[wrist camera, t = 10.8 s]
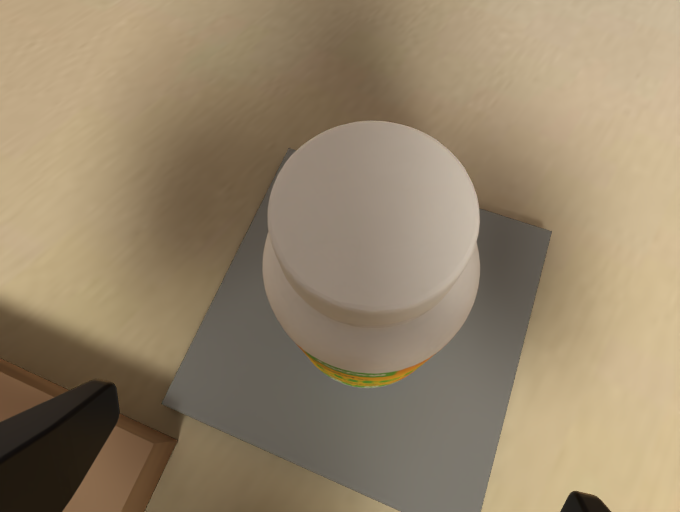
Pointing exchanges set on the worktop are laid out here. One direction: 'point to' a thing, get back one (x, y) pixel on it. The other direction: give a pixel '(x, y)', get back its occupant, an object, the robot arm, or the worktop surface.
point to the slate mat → (369, 403)
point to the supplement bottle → (372, 250)
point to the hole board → (114, 458)
